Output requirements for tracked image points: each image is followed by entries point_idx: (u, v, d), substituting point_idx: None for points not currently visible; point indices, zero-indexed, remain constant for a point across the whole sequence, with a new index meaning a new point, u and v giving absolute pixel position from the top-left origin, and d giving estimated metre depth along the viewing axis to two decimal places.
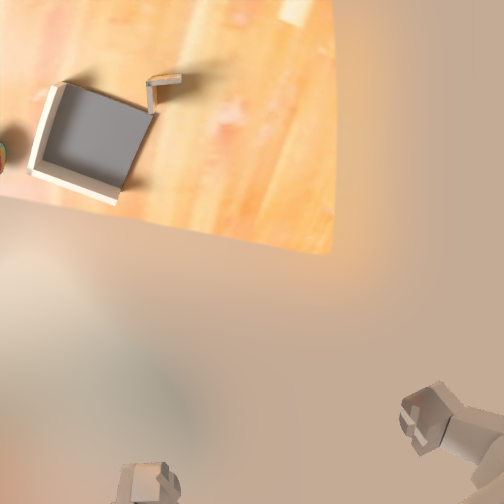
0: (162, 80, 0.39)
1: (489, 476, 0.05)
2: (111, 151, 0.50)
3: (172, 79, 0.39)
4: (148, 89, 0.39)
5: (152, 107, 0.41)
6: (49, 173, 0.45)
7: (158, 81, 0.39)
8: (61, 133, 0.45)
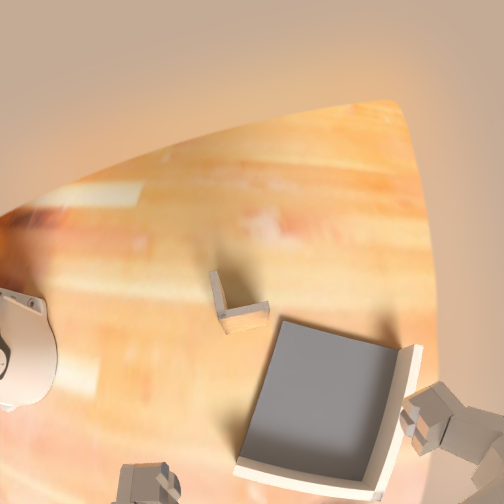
0: (215, 296, 0.31)
1: (488, 476, 0.05)
2: (344, 373, 0.34)
3: (212, 283, 0.31)
4: (230, 314, 0.30)
5: (258, 304, 0.30)
6: (382, 463, 0.26)
7: (217, 301, 0.30)
8: (319, 456, 0.30)
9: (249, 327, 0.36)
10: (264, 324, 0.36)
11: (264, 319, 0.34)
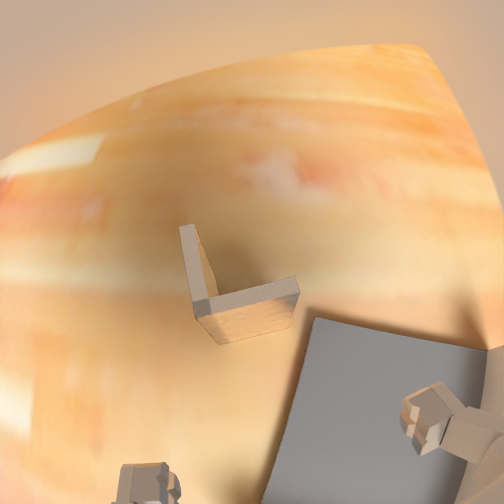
0: (189, 272, 0.15)
1: (488, 476, 0.05)
2: None
3: (184, 246, 0.16)
4: (220, 306, 0.15)
5: (276, 284, 0.15)
6: None
7: (192, 282, 0.15)
8: None
9: (258, 331, 0.21)
10: (283, 325, 0.21)
11: (285, 315, 0.19)
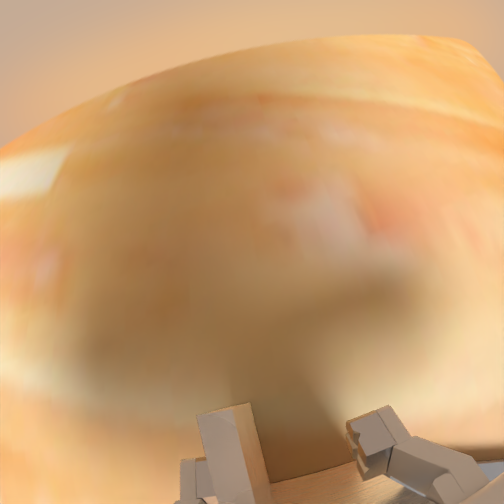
0: None
1: None
2: None
3: (214, 465, 0.06)
4: None
5: None
6: None
7: None
8: None
9: None
10: None
11: None
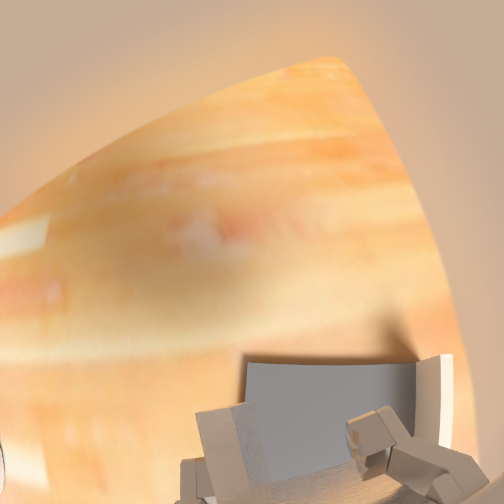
0: None
1: None
2: (349, 414, 0.23)
3: (213, 463, 0.06)
4: None
5: None
6: None
7: None
8: None
9: None
10: None
11: None
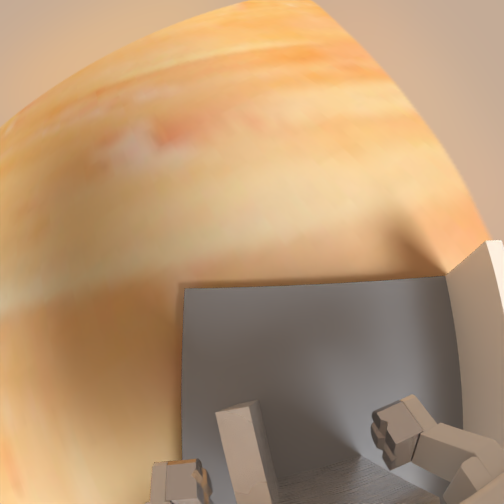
0: None
1: (459, 496, 0.05)
2: (357, 363, 0.14)
3: (232, 459, 0.06)
4: None
5: None
6: None
7: None
8: None
9: None
10: None
11: None
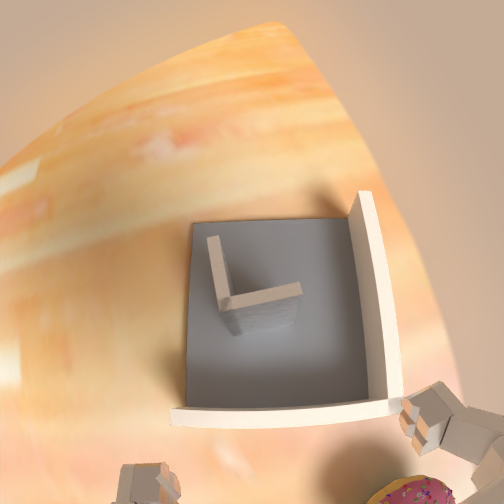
0: (215, 275, 0.19)
1: (488, 476, 0.05)
2: (287, 261, 0.28)
3: (211, 254, 0.20)
4: (239, 303, 0.19)
5: (284, 287, 0.19)
6: (382, 355, 0.21)
7: (217, 283, 0.19)
8: (293, 378, 0.24)
9: (267, 325, 0.25)
10: (289, 321, 0.25)
11: (290, 313, 0.22)
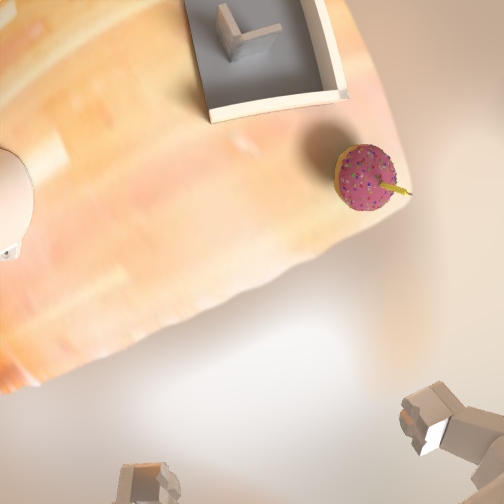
0: (229, 24, 0.25)
1: (488, 476, 0.05)
2: (257, 14, 0.32)
3: (224, 13, 0.25)
4: (247, 37, 0.26)
5: (271, 26, 0.26)
6: (330, 65, 0.32)
7: (232, 28, 0.26)
8: (274, 83, 0.35)
9: (253, 52, 0.32)
10: (266, 48, 0.33)
11: (270, 42, 0.30)
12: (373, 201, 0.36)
